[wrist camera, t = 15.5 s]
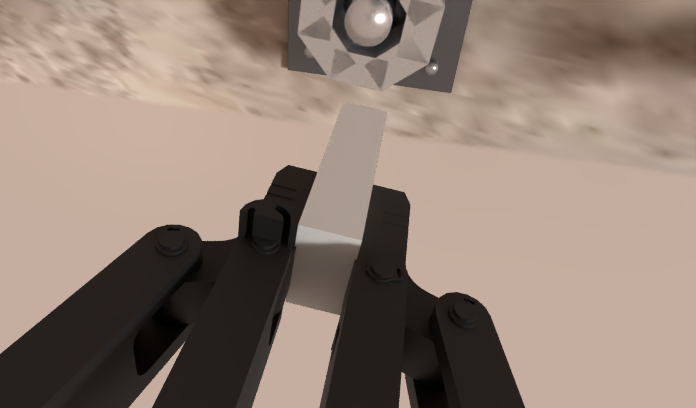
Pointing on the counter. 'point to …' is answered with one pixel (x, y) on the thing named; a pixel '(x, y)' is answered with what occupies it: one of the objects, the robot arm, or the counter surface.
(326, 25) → the octagonal ball socket
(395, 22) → the hub
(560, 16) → the counter surface
